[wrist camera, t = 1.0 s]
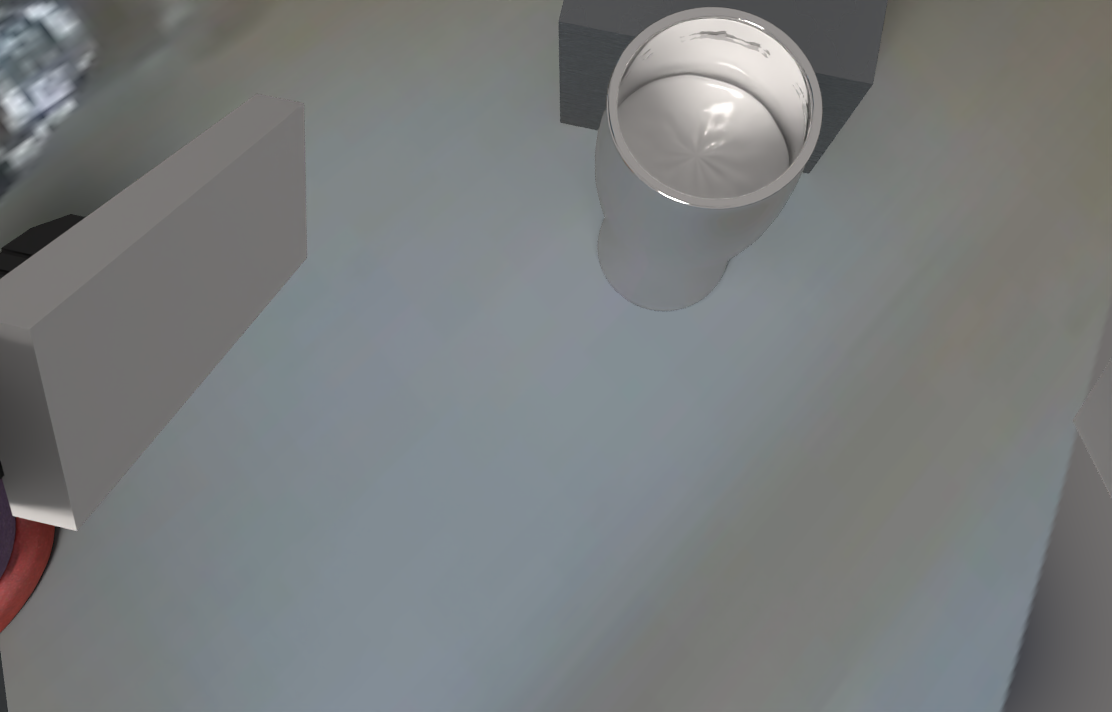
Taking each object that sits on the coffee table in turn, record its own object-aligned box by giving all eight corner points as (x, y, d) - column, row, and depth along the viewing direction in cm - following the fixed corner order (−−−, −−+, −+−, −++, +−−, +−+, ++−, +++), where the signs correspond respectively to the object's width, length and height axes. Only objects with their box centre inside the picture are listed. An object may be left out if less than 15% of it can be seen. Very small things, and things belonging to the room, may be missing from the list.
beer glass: (689, 349, 41) (758, 258, 26) (559, 272, 42) (555, 141, 27) (764, 224, 42) (871, 69, 27) (636, 150, 43) (673, -40, 28)
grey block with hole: (809, 173, 42) (872, 83, 34) (560, 122, 43) (558, 21, 34) (830, 57, 43) (897, -59, 35) (587, 9, 44) (592, -118, 35)
